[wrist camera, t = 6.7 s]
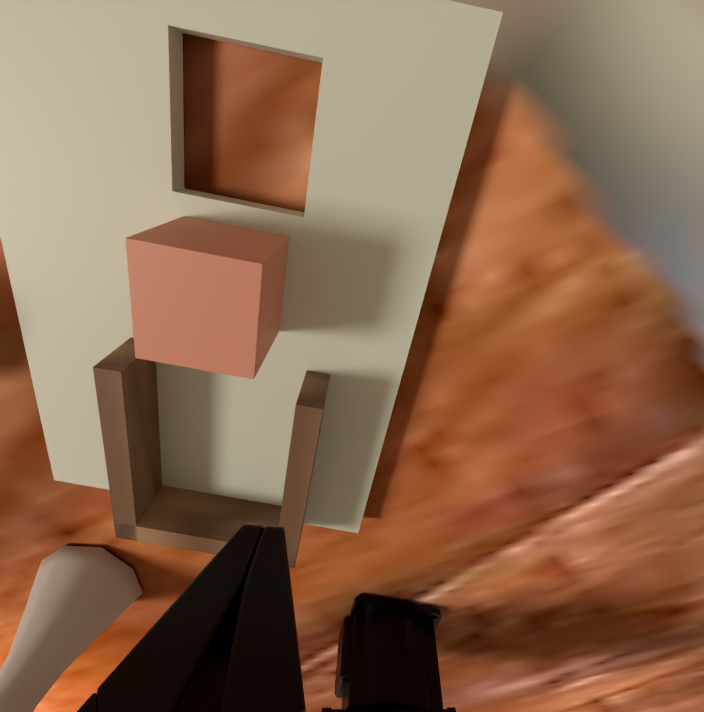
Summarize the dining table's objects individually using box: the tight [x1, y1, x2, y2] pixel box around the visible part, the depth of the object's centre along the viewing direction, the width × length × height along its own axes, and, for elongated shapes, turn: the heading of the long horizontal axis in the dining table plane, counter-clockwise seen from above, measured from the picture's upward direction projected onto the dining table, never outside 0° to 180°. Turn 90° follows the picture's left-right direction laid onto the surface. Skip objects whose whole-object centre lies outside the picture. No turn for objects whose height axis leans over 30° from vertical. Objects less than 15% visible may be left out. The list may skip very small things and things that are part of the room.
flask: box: [0, 546, 143, 712], centre depth 27 cm, size 7×7×10 cm
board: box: [0, 0, 503, 533], centre depth 20 cm, size 19×26×1 cm
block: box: [125, 216, 289, 379], centre depth 16 cm, size 4×4×4 cm
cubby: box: [93, 338, 330, 568], centre depth 21 cm, size 10×11×3 cm
